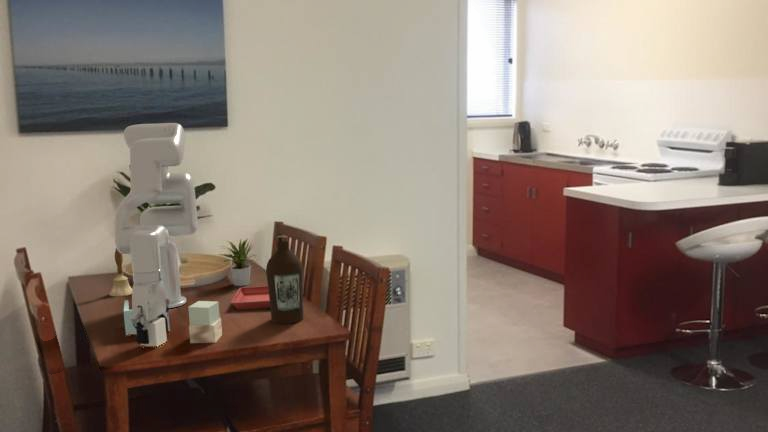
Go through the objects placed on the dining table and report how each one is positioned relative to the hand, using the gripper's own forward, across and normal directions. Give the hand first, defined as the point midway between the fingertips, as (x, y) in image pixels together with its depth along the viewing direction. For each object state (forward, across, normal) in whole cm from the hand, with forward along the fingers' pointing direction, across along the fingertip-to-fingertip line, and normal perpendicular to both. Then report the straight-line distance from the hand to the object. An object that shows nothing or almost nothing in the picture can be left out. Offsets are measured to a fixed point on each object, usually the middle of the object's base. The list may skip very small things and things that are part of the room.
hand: (153, 337), depth 218 cm
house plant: (+2, -65, -5) cm, 65 cm away
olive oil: (+2, -27, +28) cm, 39 cm away
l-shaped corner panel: (+2, -13, -10) cm, 17 cm away
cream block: (+2, 0, 0) cm, 2 cm away
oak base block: (+2, -7, +12) cm, 14 cm away
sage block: (-3, -7, +12) cm, 14 cm away
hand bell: (+2, -47, -41) cm, 62 cm away
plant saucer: (+2, -44, +13) cm, 46 cm away
